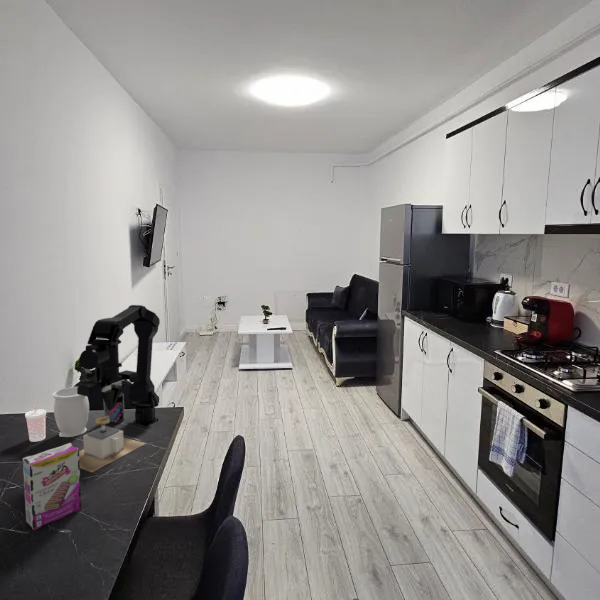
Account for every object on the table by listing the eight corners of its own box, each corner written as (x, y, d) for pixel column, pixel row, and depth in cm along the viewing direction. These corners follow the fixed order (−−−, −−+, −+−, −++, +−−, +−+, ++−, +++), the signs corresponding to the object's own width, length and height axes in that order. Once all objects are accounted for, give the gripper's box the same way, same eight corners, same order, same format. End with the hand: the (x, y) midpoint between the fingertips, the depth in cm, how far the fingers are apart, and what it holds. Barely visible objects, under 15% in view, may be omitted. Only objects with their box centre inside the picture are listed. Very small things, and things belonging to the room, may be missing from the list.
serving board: (114, 436, 151) (114, 434, 151) (145, 445, 145) (145, 443, 145) (59, 463, 134) (59, 460, 134) (92, 474, 128) (92, 472, 127)
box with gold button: (105, 443, 145) (105, 424, 144) (128, 450, 140) (127, 430, 139) (84, 454, 138) (83, 433, 137) (107, 462, 133) (106, 441, 132)
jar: (64, 443, 146) (61, 399, 144) (50, 434, 152) (47, 392, 150) (96, 432, 154) (94, 390, 152) (81, 424, 160) (78, 384, 158)
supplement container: (100, 425, 160) (99, 397, 158) (112, 418, 167) (111, 391, 165) (117, 427, 158) (115, 399, 157) (128, 420, 165) (127, 392, 163)
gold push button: (104, 434, 142) (103, 413, 141) (117, 437, 140) (116, 417, 139) (90, 441, 138) (89, 420, 137) (102, 445, 135) (101, 423, 134)
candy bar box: (34, 532, 103) (29, 465, 101) (25, 523, 106) (20, 457, 104) (83, 509, 112) (79, 447, 109) (74, 501, 115) (70, 441, 112)
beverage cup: (41, 443, 146) (38, 401, 144) (22, 442, 146) (19, 401, 144) (51, 434, 152) (49, 395, 150) (34, 434, 152) (31, 394, 150)
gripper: (114, 351, 150) (115, 396, 152) (63, 364, 133) (65, 414, 135) (139, 355, 145) (140, 402, 147) (89, 369, 128) (91, 421, 130)
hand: (110, 409), depth 140 cm, fingers closed
